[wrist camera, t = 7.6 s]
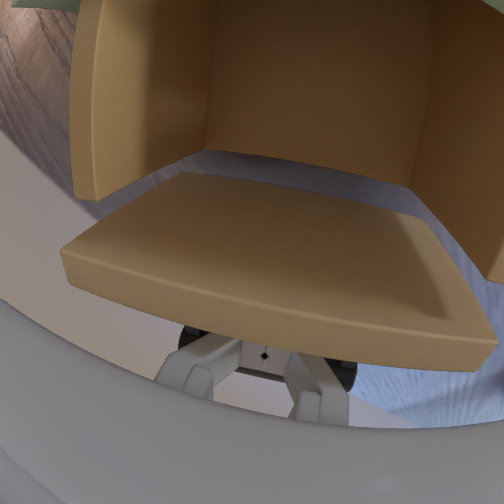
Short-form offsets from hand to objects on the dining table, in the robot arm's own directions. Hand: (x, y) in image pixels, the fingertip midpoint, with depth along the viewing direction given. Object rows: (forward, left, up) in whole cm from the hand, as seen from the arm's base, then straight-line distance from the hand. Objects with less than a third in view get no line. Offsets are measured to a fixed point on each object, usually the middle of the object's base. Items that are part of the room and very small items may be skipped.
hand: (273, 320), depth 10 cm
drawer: (-7, 0, -4) cm, 8 cm away
